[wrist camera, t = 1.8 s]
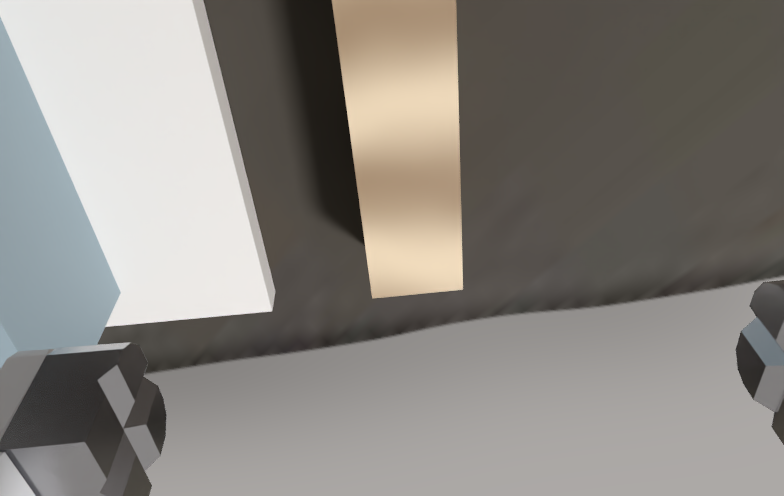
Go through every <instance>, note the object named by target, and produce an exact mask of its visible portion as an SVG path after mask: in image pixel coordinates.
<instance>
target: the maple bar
mask: <svg viewBox="0 0 784 496" xmlns="http://www.w3.org/2000/svg"><path fill="white" fill-rule="evenodd" d="M332 5H333V12H334V20H335V27H336V35H337V42H338V49H339V57H340V64H341V71H342V79H343V86H344V93H345V101H346V108H347V115H348V123H349V130H350V138H351V145H352V152H353V160H354V167H355V174H356V182H357V189H358V196H359V204H360V211H361V218H362V226H363V233H364V241H365V248H366V255H367V263H368V270H369V277H370V285H371V292H372V298H382V297H392V296H402V295H412V294H422V293H433V292H443V291H453V290H463V270H462V228H461V187H460V145H459V104H458V62H457V21H456V0H332Z"/></svg>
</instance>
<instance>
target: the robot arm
mask: <svg viewBox="0 0 784 496" xmlns="http://www.w3.org/2000/svg"><path fill="white" fill-rule="evenodd" d="M750 307H751V309H752V310H753V312H754V314H755V315H756V318H755V319H754V320H753V321H752V322H751V323H750V324H749V325H747V326H746V327H745V328H744V329H743V330H742V331H741V333H740V337H739V340H738V344H737V347H736V356H737V366H738V371H739V373H740V376H741V379H742V381H743V384H744V385H745V387H746V389H747V390H748V392H749V393H750V395H751V397H752V398H753V400H755V401H757V402H759V403H760V404H762V405H763V406H765V407H767V408H768V409H770V410H772V411H773V412H774V417H773V422H772V428H773V430H774V431H775V433H776V434H777V436H778V437H779V439H780V440H781V442H782V443H783V445H784V280H781V281H772V282H763V283H762V284H761V285H760V286H759V287H758V288H757V289H756V290H755V292H754V295H753V298H752V300H751V303H750ZM147 365H148V362H147V360H146V358H145V356H144V354H143V352H142V350H141V348H140V345H137V344H134V343H117V344H103V345H89V346H75V347H61V348H56V349H45V350H30V351H18V352H17V353H15V354H13V355H12V356H10V357H9V358H7V359H6V361H5V362H4V364H3V366H2V367H1V369H0V496H149V494H150V490H151V487H152V485H151V483H150V481H149V479H148V477H147V475H146V473H145V470H146V469H147V468H148V467H149V466H150V465H151V464H153V463H154V462H155V460H156V459H157V458H159V457H160V455H161V451H162V448H163V444H164V440H165V436H166V410H165V404H164V399H163V397H162V394H161V392H160V389H159V387H158V386H157V385H156V384H154V383H152V382H151V381H149V380H148V379H146V378H145V377H143V376H144V373H145V370H146V367H147Z"/></svg>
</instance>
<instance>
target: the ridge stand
mask: <svg viewBox="0 0 784 496" xmlns="http://www.w3.org/2000/svg"><path fill="white" fill-rule="evenodd" d="M274 296H275V288H274V284H273V280H272V276H271V272H270V268H269V264H268V260H267V256H266V252H265V248H264V244H263V240H262V236H261V232H260V228H259V224H258V220H257V216H256V212H255V207H254V203H253V199H252V195H251V191H250V187H249V183H248V179H247V175H246V171H245V167H244V163H243V159H242V155H241V151H240V147H239V143H238V139H237V135H236V131H235V127H234V123H233V119H232V115H231V111H230V106H229V102H228V98H227V94H226V90H225V86H224V82H223V78H222V74H221V70H220V66H219V62H218V58H217V54H216V50H215V46H214V42H213V38H212V34H211V30H210V26H209V22H208V18H207V14H206V10H205V6H204V1H203V0H0V369H1V367H2V366H3V364H4V362H5V361H6V359H7V358H9V357H10V356H12V355H13V354H15V353H17V352H18V351H30V350H45V349H56V348H61V347H75V346H89V345H97V343H98V341H99V339H100V337H101V335H102V332H103V330H104V328H105V327H108V326H119V325H129V324H140V323H151V322H162V321H172V320H183V319H194V318H205V317H215V316H226V315H237V314H247V313H258V312H269V311H272V309H273V303H274Z"/></svg>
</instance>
